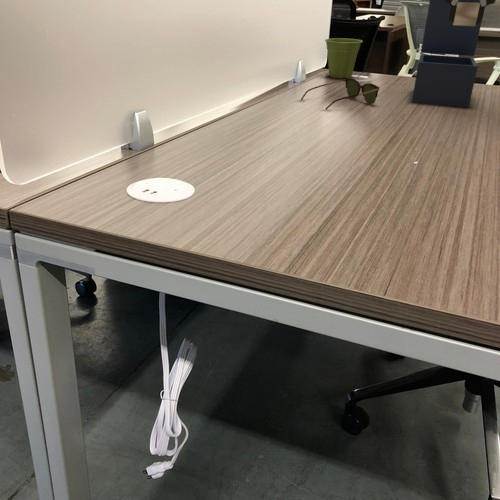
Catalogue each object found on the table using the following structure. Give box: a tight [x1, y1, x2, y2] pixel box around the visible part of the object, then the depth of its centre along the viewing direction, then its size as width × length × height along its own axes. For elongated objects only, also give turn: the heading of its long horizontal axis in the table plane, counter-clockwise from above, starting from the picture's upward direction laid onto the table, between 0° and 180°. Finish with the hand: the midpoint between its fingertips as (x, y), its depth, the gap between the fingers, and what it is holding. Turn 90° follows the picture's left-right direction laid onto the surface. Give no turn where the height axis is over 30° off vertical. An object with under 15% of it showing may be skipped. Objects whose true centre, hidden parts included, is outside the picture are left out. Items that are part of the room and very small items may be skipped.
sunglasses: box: [300, 77, 380, 110], centre depth 128 cm, size 14×15×5 cm
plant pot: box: [324, 37, 363, 80], centre depth 162 cm, size 12×12×11 cm
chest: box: [411, 53, 479, 108], centre depth 135 cm, size 18×14×10 cm
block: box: [453, 2, 480, 26], centre depth 118 cm, size 5×5×5 cm
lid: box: [420, 0, 483, 57], centre depth 137 cm, size 19×14×6 cm
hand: (464, 23), depth 119 cm, fingers closed on block, 4 cm apart
